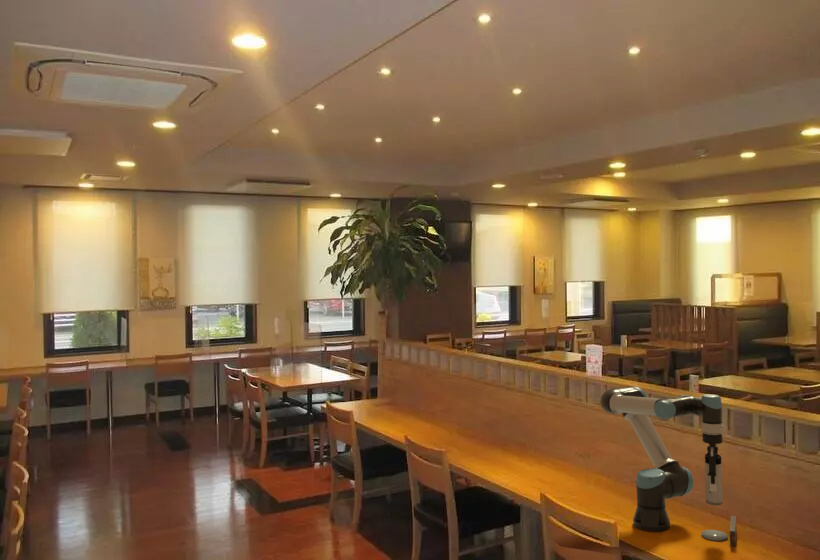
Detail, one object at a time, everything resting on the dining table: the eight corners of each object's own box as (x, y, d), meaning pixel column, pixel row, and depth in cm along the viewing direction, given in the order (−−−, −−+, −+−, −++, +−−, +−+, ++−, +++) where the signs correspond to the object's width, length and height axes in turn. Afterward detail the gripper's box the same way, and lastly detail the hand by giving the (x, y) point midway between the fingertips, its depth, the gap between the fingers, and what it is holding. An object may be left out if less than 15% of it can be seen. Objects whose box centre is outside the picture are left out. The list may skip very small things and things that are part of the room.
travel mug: (717, 499, 288) (716, 452, 288) (725, 505, 281) (724, 456, 281) (702, 500, 288) (701, 452, 288) (710, 505, 281) (709, 456, 281)
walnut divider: (730, 545, 275) (729, 530, 275) (731, 529, 291) (730, 515, 291) (735, 546, 274) (735, 531, 274) (736, 530, 290) (736, 516, 290)
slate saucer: (700, 538, 282) (700, 537, 282) (702, 530, 291) (702, 528, 291) (727, 542, 278) (727, 540, 278) (728, 533, 287) (728, 531, 287)
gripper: (721, 438, 274) (722, 496, 274) (723, 428, 291) (724, 482, 291) (700, 437, 277) (702, 494, 277) (703, 427, 294) (705, 480, 295)
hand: (713, 488), depth 284 cm, fingers closed on travel mug, 6 cm apart
